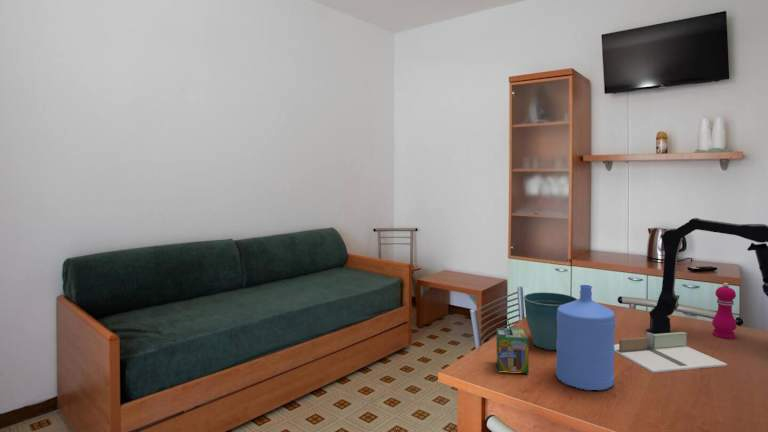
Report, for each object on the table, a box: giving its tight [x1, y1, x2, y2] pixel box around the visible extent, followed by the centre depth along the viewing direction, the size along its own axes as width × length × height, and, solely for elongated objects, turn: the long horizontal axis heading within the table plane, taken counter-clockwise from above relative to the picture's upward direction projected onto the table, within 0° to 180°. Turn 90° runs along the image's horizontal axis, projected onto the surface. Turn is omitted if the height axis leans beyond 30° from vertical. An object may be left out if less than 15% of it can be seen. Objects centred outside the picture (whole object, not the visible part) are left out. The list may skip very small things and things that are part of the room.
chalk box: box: [495, 319, 530, 373], centre depth 142 cm, size 9×9×15 cm
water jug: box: [555, 284, 616, 391], centre depth 132 cm, size 16×16×28 cm
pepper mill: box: [711, 282, 738, 340], centre depth 167 cm, size 7×7×20 cm
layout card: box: [614, 331, 728, 374], centre depth 150 cm, size 22×26×6 cm
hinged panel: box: [653, 331, 688, 348], centre depth 156 cm, size 12×2×4 cm, turn 100°
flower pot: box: [523, 291, 578, 351], centre depth 161 cm, size 18×18×17 cm
